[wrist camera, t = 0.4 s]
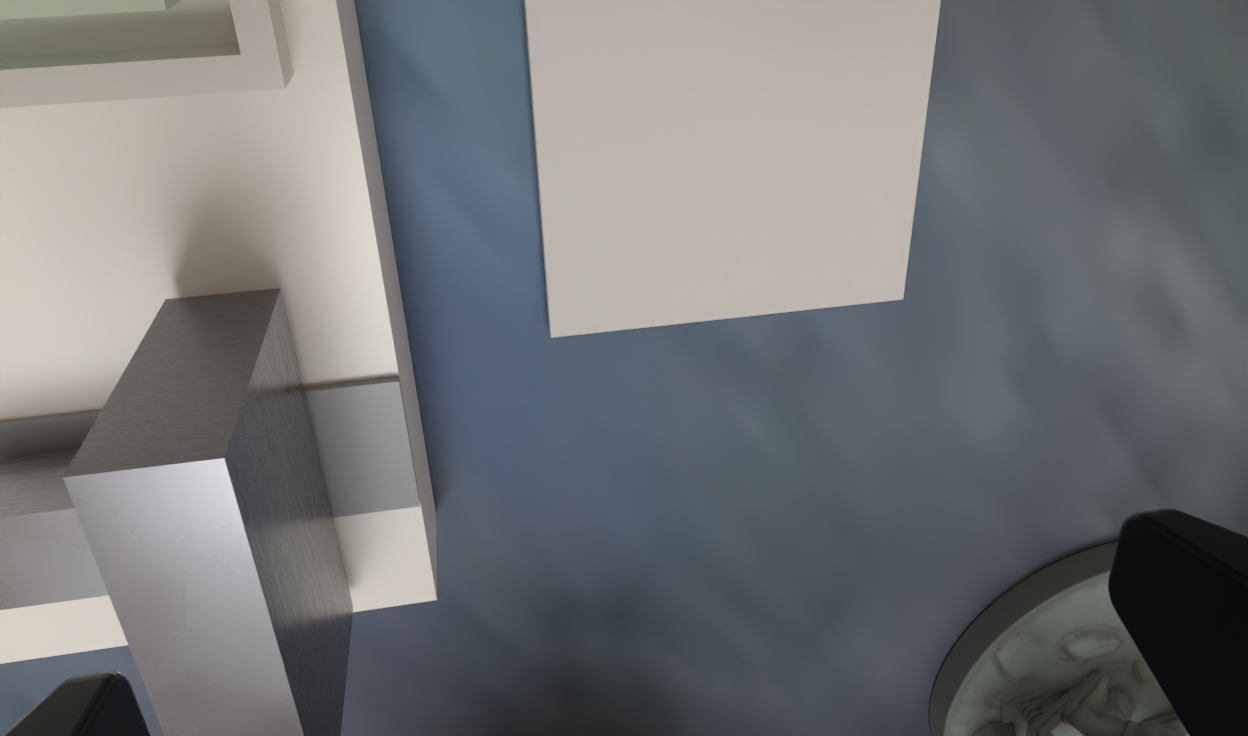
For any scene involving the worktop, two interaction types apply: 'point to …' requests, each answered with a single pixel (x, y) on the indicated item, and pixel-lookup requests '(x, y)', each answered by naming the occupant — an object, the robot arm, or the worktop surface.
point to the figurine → (1051, 663)
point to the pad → (725, 155)
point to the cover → (77, 7)
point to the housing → (206, 253)
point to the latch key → (198, 526)
